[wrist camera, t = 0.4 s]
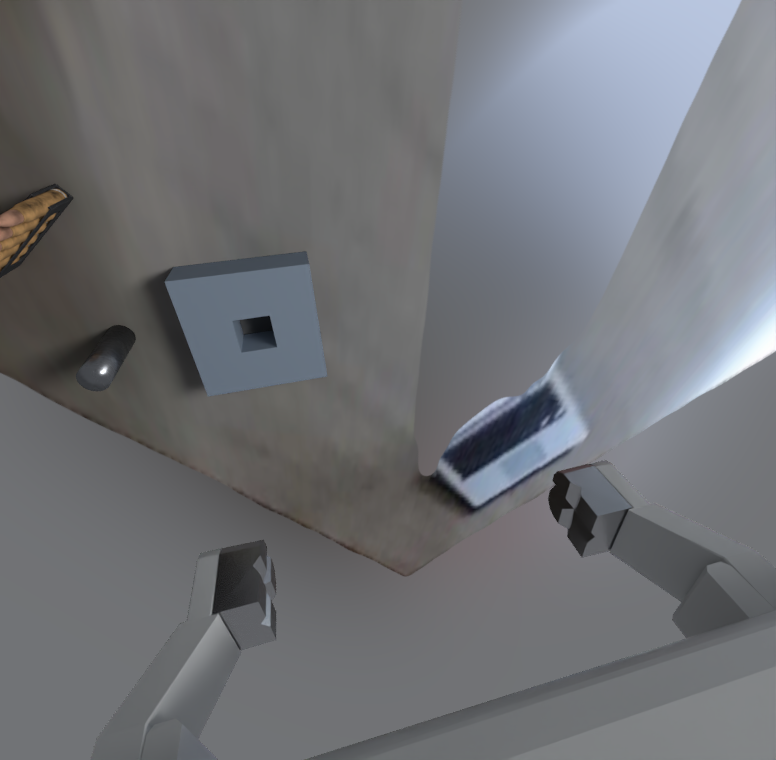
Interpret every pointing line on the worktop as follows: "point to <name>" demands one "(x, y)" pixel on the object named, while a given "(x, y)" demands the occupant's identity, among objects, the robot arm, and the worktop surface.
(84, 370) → the steel pin
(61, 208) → the ammunition clip
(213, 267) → the bore block
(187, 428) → the worktop surface
